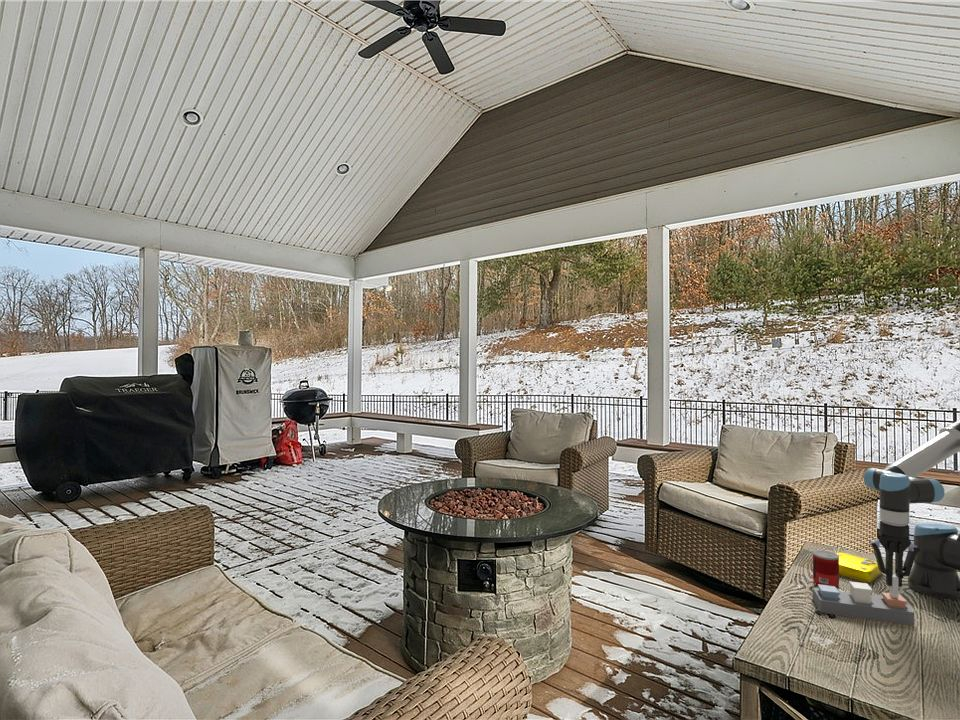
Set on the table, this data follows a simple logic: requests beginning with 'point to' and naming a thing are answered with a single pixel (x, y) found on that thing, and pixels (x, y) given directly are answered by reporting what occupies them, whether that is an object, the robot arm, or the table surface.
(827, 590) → the slate blue key
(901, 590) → the table surface
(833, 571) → the canned food
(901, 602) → the terracotta key
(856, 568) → the element tile
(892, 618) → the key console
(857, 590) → the white key
